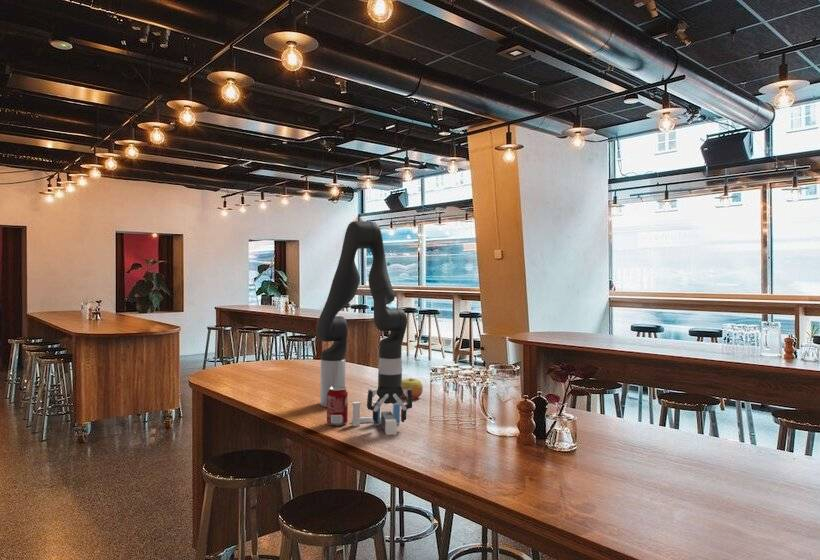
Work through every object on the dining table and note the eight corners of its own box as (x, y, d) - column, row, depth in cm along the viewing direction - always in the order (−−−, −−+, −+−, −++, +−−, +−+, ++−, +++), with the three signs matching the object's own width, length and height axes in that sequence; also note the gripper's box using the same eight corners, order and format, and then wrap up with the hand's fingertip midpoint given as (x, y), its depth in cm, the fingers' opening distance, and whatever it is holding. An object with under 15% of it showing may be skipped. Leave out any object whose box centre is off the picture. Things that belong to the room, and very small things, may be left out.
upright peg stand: (351, 422, 188) (351, 399, 188) (397, 420, 191) (397, 398, 191) (352, 426, 183) (353, 403, 183) (400, 424, 186) (400, 401, 186)
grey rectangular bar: (381, 423, 188) (381, 411, 188) (390, 423, 188) (390, 411, 188) (386, 435, 175) (386, 422, 175) (396, 434, 175) (396, 421, 175)
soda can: (343, 427, 182) (344, 390, 182) (323, 426, 184) (324, 389, 183) (350, 421, 189) (350, 386, 189) (330, 420, 190) (331, 385, 190)
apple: (408, 402, 218) (409, 381, 218) (392, 397, 225) (393, 377, 225) (427, 398, 224) (427, 378, 224) (411, 394, 232) (411, 374, 231)
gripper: (409, 368, 184) (409, 418, 184) (366, 369, 181) (365, 419, 182) (414, 373, 177) (413, 424, 177) (369, 374, 174) (368, 426, 174)
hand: (389, 422), depth 179 cm, fingers open, 8 cm apart
